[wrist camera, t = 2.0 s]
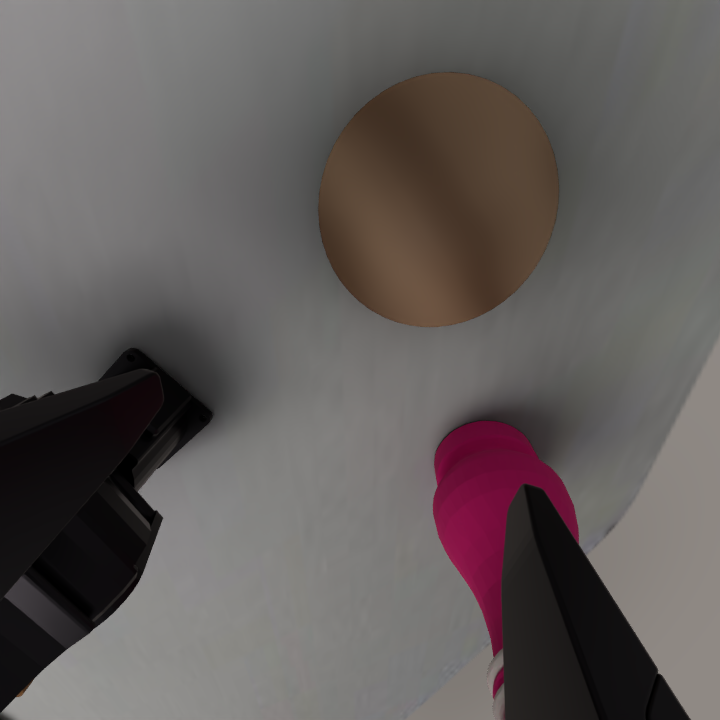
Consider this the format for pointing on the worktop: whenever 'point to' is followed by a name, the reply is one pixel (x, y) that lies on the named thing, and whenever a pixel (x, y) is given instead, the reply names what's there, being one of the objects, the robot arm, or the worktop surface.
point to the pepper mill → (488, 515)
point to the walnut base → (438, 199)
